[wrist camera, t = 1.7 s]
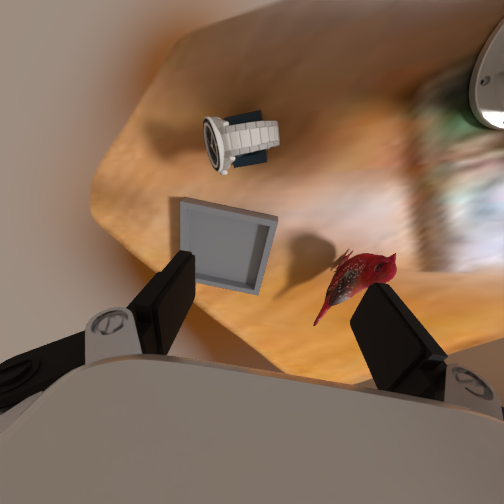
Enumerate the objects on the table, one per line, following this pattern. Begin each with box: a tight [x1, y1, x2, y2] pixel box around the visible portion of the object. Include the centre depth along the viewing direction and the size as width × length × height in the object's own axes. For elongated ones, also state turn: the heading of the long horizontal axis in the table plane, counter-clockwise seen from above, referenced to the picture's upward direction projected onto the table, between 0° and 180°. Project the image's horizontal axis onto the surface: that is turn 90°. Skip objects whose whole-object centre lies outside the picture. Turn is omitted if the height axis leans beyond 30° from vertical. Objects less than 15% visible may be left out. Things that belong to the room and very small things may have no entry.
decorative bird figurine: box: [313, 251, 397, 326], centre depth 31 cm, size 3×18×10 cm, turn 155°
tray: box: [180, 197, 278, 295], centre depth 34 cm, size 15×15×2 cm
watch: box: [203, 110, 280, 175], centre depth 22 cm, size 6×8×11 cm
